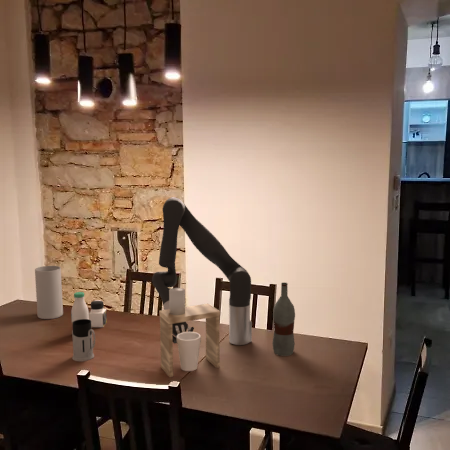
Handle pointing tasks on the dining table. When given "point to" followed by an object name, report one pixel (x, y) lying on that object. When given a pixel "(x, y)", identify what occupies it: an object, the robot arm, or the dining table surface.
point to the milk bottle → (79, 308)
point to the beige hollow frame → (190, 315)
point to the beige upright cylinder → (177, 301)
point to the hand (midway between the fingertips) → (184, 351)
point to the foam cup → (188, 350)
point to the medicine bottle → (97, 314)
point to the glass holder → (82, 340)
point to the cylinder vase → (49, 292)
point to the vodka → (283, 324)
